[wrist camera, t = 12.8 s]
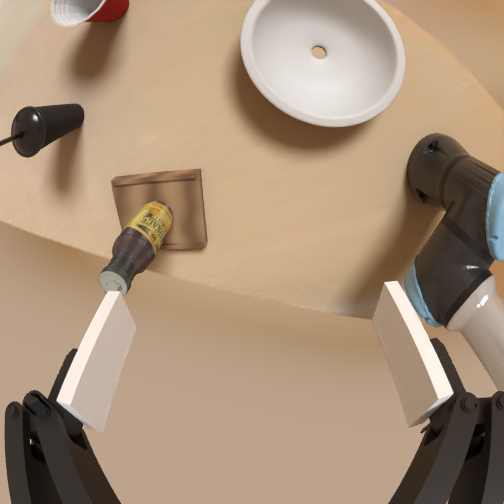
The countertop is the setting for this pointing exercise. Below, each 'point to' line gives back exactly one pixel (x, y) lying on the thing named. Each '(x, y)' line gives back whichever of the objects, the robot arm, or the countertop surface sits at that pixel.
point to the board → (171, 193)
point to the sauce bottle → (136, 246)
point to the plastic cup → (86, 11)
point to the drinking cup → (42, 126)
